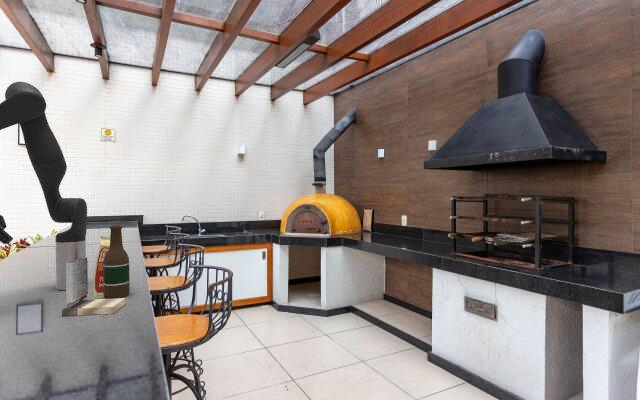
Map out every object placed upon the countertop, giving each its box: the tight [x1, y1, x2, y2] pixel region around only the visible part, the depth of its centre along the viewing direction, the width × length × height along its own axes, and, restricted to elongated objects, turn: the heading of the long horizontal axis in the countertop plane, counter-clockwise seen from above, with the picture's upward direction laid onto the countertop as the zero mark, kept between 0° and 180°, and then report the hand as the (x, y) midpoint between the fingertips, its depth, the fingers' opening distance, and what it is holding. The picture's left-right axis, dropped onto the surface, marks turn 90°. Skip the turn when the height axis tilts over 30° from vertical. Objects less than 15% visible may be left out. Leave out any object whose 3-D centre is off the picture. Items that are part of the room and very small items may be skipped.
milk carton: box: [92, 235, 124, 297], centre depth 129 cm, size 9×9×20 cm
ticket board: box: [61, 297, 126, 317], centre depth 107 cm, size 14×9×2 cm, turn 99°
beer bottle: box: [103, 224, 131, 299], centre depth 122 cm, size 8×8×24 cm
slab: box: [65, 257, 89, 307], centre depth 107 cm, size 2×9×13 cm, turn 9°
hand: (9, 241), depth 104 cm, fingers closed
